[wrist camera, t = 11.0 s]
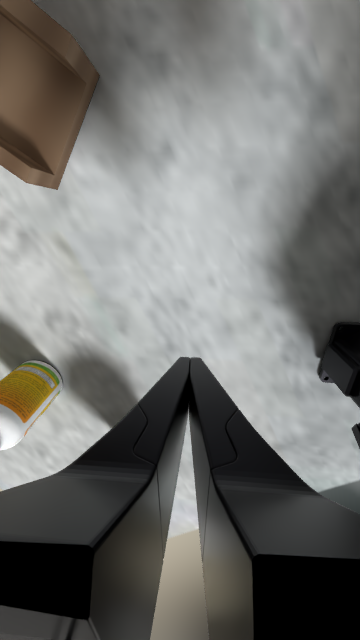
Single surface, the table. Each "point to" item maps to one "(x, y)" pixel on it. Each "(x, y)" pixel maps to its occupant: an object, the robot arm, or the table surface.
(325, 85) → the table surface
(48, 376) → the supplement bottle
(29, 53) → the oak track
